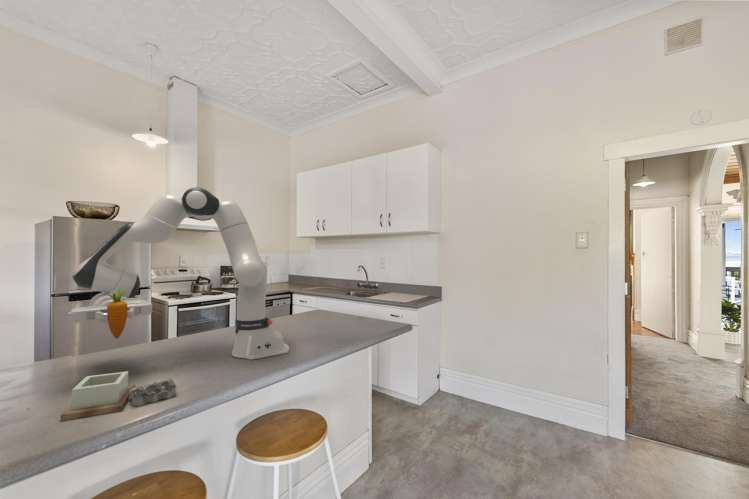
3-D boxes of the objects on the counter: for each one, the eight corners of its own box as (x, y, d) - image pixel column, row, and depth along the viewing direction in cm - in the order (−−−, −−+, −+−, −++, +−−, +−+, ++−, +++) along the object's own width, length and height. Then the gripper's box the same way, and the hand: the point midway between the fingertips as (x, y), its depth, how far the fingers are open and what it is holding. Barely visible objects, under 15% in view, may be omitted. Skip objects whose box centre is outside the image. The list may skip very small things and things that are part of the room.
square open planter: (127, 388, 92) (128, 371, 92) (118, 402, 84) (118, 383, 84) (86, 394, 88) (86, 376, 88) (71, 409, 80) (72, 389, 80)
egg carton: (130, 409, 83) (130, 394, 83) (128, 399, 89) (128, 385, 89) (177, 397, 90) (177, 383, 90) (172, 389, 96) (173, 375, 96)
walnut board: (135, 389, 95) (135, 384, 95) (121, 411, 82) (122, 405, 82) (83, 397, 89) (83, 391, 90) (60, 421, 77) (60, 415, 77)
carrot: (114, 341, 94) (115, 291, 94) (102, 340, 96) (102, 290, 96) (131, 337, 99) (131, 289, 99) (119, 335, 100) (120, 288, 101)
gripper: (67, 303, 99) (71, 309, 89) (146, 296, 114) (156, 301, 104) (66, 323, 98) (70, 331, 89) (146, 314, 114) (156, 320, 104)
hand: (117, 315), depth 97 cm, fingers closed on carrot, 5 cm apart
